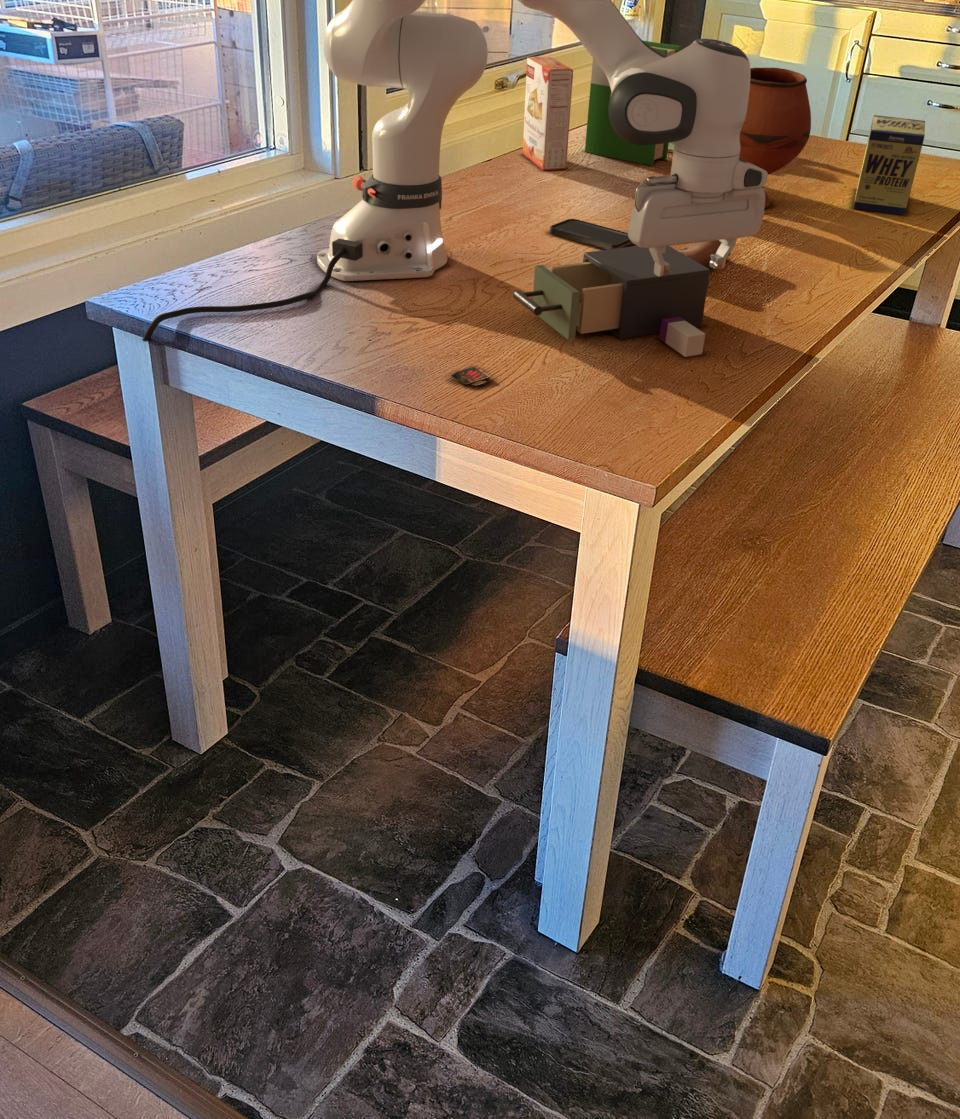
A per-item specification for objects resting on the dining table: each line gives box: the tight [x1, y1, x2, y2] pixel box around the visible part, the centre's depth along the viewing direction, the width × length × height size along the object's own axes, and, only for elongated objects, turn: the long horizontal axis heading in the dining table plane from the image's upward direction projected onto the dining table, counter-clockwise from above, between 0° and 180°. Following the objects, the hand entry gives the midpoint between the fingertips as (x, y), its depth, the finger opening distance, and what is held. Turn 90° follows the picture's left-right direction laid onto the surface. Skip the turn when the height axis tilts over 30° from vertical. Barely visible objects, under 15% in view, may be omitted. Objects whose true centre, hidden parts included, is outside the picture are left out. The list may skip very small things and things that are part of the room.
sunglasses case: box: [676, 240, 732, 269], centre depth 189 cm, size 18×7×7 cm
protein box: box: [852, 114, 926, 216], centre depth 224 cm, size 10×16×16 cm
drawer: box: [512, 262, 624, 341], centre depth 164 cm, size 18×12×7 cm, turn 114°
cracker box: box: [522, 56, 574, 171], centre depth 239 cm, size 14×6×21 cm, turn 17°
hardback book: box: [584, 39, 682, 166], centre depth 246 cm, size 18×7×24 cm, turn 54°
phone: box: [549, 218, 634, 250], centre depth 202 cm, size 8×1×15 cm
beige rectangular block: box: [658, 317, 706, 358], centre depth 161 cm, size 7×3×3 cm, turn 24°
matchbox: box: [450, 366, 491, 387], centre depth 150 cm, size 5×5×1 cm
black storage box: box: [582, 245, 711, 340], centre depth 168 cm, size 15×13×9 cm
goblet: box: [739, 67, 812, 209], centre depth 217 cm, size 19×19×25 cm
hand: (689, 271), depth 155 cm, fingers open, 8 cm apart
